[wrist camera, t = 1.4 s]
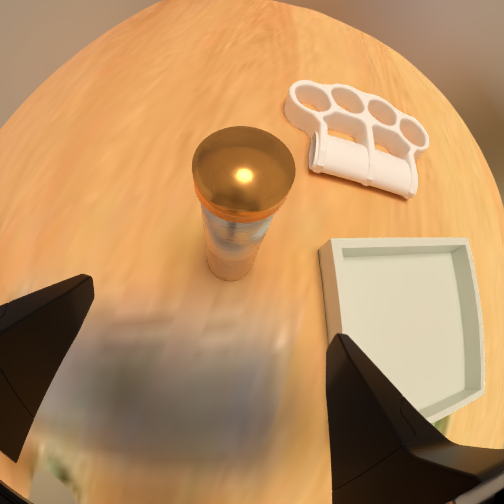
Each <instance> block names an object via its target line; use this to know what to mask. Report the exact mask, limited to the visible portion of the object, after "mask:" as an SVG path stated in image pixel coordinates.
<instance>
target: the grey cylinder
mask: <svg viewBox="0 0 504 504" xmlns="http://www.w3.org/2000/svg"><path fill="white" fill-rule="evenodd" d="M192 172H193V180H194V187H195V192H196V194H197V197H198V199H199V200H200V202H201V208H202V217H203V226H204V235H205V243H206V251H207V258H208V265H209V268H210V270H211V271H212V273H213V274H214V275H215V276H217V277H218V278H220V279H222V280H225V281H236V280H239V279H241V278H243V277H244V276H245V275H246V274H247V273H248V272H249V270H250V269H251V266H252V264H253V262H254V259H255V257H256V255H257V252H258V250H259V248H260V245H261V243H262V241H263V238H264V236H265V234H266V231H267V229H268V227H269V224H270V222H271V220H272V217H273V215H274V213H275V212H276V211H277V210H279V208H280V207H281V206H282V205H283V203H284V201H285V200H286V197H287V195H288V193H289V191H290V189H291V187H292V184H293V182H294V178H295V163H294V159H293V157H292V154H291V153H290V151H289V149H288V148H287V147H286V146H285V144H284V143H283V142H282V141H280V140H279V139H278V138H277V137H275V136H274V135H272V134H270V133H268V132H266V131H263V130H261V129H257V128H253V127H245V126H236V127H229V128H225V129H222V130H219V131H217V132H215V133H213V134H211V135H210V136H208V137H207V138H206V139H204V140H203V141H202V142H201V144H200V145H199V146H198V148H197V149H196V151H195V153H194V157H193V161H192Z"/></svg>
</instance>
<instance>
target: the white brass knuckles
mask: <svg viewBox="0 0 504 504" xmlns="http://www.w3.org/2000/svg"><path fill="white" fill-rule="evenodd" d="M300 102H302V103H307V104H310V105H312V106H314V107H315V108H316V109H317V110H318V111H319V112H318V111H313V110H310V109H308V108H306V107H304V106H303V105H302V104H301V103H300ZM338 105H340V106H342V107H344V108H346V109H347V110H348V111H349V112H348V111H346V110H344V109H342V108H341V107H340V106H338ZM284 113H285V116H286V118H287V119H288V120H289V122H290V123H291V124H292V125H294V126H295V127H297V128H298V129H300V130H302V131H304V132H306V133H307V135H308V136H309V137H310V139H311V144H310V151H309V168H310V170H313V172H316V173H320V172H322V173H326V174H330V175H334V176H338V177H341V178H345V179H349V180H352V181H356V182H359V183H362V185H364V186H368V185H369V186H373V187H376V188H379V189H382V190H386V191H389V192H392V193H395V194H398V195H401V196H403V197H404V198H406V199H409V198H410V199H411V198H413V197H414V196H415V194H416V192H417V186H418V175H417V170H416V164H415V161H416V160H417V159H418V158H419V157H420V156H421V155H422V154H423V153H424V152H425V151H426V150H427V148H428V147H429V137H428V134H427V132H426V131H425V129H424V128H423V126H422V125H421V124H420V123H419V122H418V121H417V120H416V119H415V118H414V117H412V116H409V115H406V114H404V113H402V112H400V111H399V110H397V109H396V108H394V107H393V106H392V105H391V104H390V103H389V102H388V101H386V100H384V99H382V98H380V97H379V96H377V95H373V94H367V93H364V92H361V91H359V90H357V89H355V88H353V87H352V86H348V85H343V84H333V85H324V84H319V83H315V82H312V81H310V80H301V81H298V82H295V83H294V84H293V85H292V86H291V87H290V89H289V92H288V96H287V99H286V103H285V106H284ZM374 117H375V118H377V119H378V120H379V121H380V122H379V121H377V120H376V119H375V118H374ZM328 129H331V130H334V131H337V132H341V133H344V134H347V135H350V136H352V137H353V138H354V139H355V142H356V143H354V142H351V141H348V140H344V139H341V138H337V137H334V136H330V135H328ZM405 137H406V138H407V139H408V140H409V141H410V142H409V141H408V140H407V139H406V138H405ZM374 143H375V144H378V145H381V146H383V147H386V148H387V149H388V150H389V152H390V153H391V154H392V155H390V154H387V153H384V152H381V151H379V150H376V149H375V145H374Z"/></svg>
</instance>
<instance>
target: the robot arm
mask: <svg viewBox="0 0 504 504" xmlns="http://www.w3.org/2000/svg"><path fill="white" fill-rule="evenodd" d="M93 300H94V286H93V279H92V277H91V276H89V275H86V274H80V275H77V276H75V277H72V278H69V279H67V280H64V281H61V282H59V283H56V284H53V285H51V286H48V287H46V288H43V289H41V290H38V291H35V292H33V293H30V294H28V295H25V296H23V297H20V298H18V299H15V300H13V301H11V302H9V303H6V304H3V305H1V306H0V452H2V453H3V454H4V455H5V456H7V457H8V458H9V459H11V460H12V461H14V462H15V463H17V461H18V458H19V456H20V453H21V450H22V447H23V445H24V442H25V440H26V437H27V435H28V432H29V430H30V427H31V425H32V423H33V420H34V419H33V418H35V416H36V413H37V411H38V409H39V407H40V404H41V402H42V400H43V398H44V396H45V394H46V392H47V390H48V388H49V386H50V384H51V382H52V380H53V378H54V376H55V374H56V372H57V370H58V368H59V366H60V364H61V362H62V361H63V359H64V357H65V355H66V353H67V352H68V350H69V348H70V346H71V344H72V343H73V341H74V339H75V337H76V336H77V334H78V332H79V330H80V328H81V326H82V324H83V321H84V319H85V317H86V315H87V313H88V311H89V309H90V306H91V304H92V302H93ZM326 399H327V410H328V423H329V437H330V453H331V473H332V491H333V492H332V504H504V449H489V448H479V447H471V446H463V445H458V444H455V443H453V442H451V441H450V440H448V439H447V438H446V437H445V436H444V435H443V434H442V433H440V432H439V431H438V430H437V429H436V428H435V427H434V426H433V425H432V424H431V423H430V422H429V421H428V420H426V419H425V418H424V417H423V416H422V415H421V414H420V413H419V412H418V411H417V410H416V409H415V408H414V407H413V405H412V404H411V403H410V402H409V401H408V400H407V399H406V398H405V397H404V396H403V395H402V393H401V392H400V391H399V390H398V389H397V388H396V387H395V386H394V385H393V384H392V382H391V381H390V380H389V379H388V378H387V377H386V376H385V375H384V374H383V373H382V371H381V370H380V369H379V368H378V367H377V366H376V365H375V364H374V363H373V362H372V361H371V359H370V358H369V357H368V356H367V355H366V354H365V353H364V352H363V351H362V350H361V349H360V347H359V346H358V345H357V344H356V343H355V342H354V341H353V340H352V339H351V338H350V337H349V336H348V335H347V334H342V333H337V334H335V336H334V337H333V339H332V341H331V343H330V345H329V347H328V349H327V352H326ZM0 504H33V503H31V502H30V501H29V500H27V499H26V498H24V497H23V496H21V495H20V494H18V493H17V492H16V491H14V490H13V489H12V488H10V487H9V486H7V485H6V484H5V483H4V482H2V481H1V480H0Z"/></svg>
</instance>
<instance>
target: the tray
mask: <svg viewBox="0 0 504 504" xmlns="http://www.w3.org/2000/svg"><path fill="white" fill-rule="evenodd" d="M318 254H319V261H320V269H321V277H322V285H323V294H324V303H325V313H326V323H327V334H328V346H329V345H330V343H331V341H332V339H333V337H334V336H335V334H337V333H342V334H347V335H348V336H349V337H350V338H351V339H352V340H353V341H354V342H355V343H356V344H357V345H358V346H359V347H360V349H361V350H362V351H363V352H364V353H365V354H366V355H367V356H368V357H369V358H370V359H371V361H372V362H373V363H374V364H375V365H376V366H377V367H378V368H379V369H380V370H381V371H382V373H383V374H384V375H385V376H386V377H387V378H388V379H389V380H390V381H391V382H392V384H393V385H394V386H395V387H396V388H397V389H398V390H399V391H400V392H401V393H402V395H403V396H404V397H405V398H406V399H407V400H408V401H409V402H410V403H411V404H412V405H413V407H414V408H415V409H416V410H417V411H418V412H419V413H420V414H421V415H422V416H423V417H424V418H425V419H426V420H428V421H429V422H430V423H433V422H435V421H438V420H440V419H442V418H444V417H445V416H447V415H449V414H451V413H453V412H455V411H457V410H459V409H460V408H462V407H464V406H466V405H467V404H469V403H471V402H473V401H474V400H476V399H477V398H479V397H481V396H482V395H484V392H485V349H484V332H483V320H482V311H481V303H480V296H479V289H478V283H477V278H476V272H475V267H474V262H473V258H472V253H471V249H470V245H469V241H468V238H331V239H330V240H329V241H327V242H326V243H325V244H324V245H323V246H322V247H321V248H320V249H319V250H318Z"/></svg>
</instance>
